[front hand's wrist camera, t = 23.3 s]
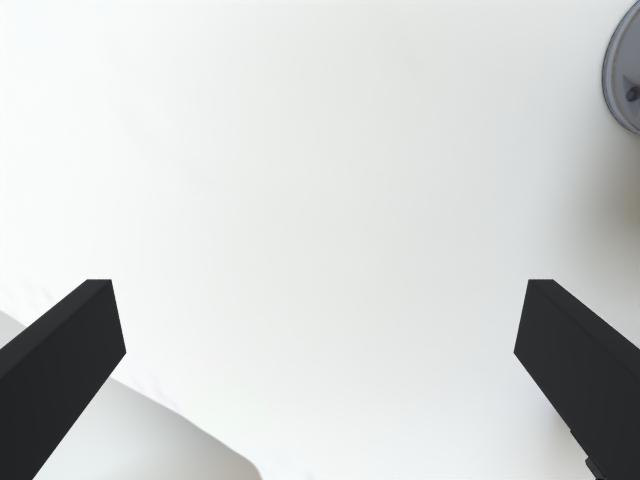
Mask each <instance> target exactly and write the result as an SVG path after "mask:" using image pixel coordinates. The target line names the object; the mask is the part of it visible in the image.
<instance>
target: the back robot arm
mask: <svg viewBox="0 0 640 480" xmlns="http://www.w3.org/2000/svg"><path fill="white" fill-rule="evenodd" d="M570 432H571V434H572V435H573V436H574V438H575V439H576V440H577V442H578V443H579V444H580V446H581V447H582V449H583V450H584V451H585V453H586V454H587V455H588V458H587V459H586V460H585V462H586V465H587V467H588V468H589V469H590V471H591V472H592V474H593V475H594V476H595V478H596V479H595V480H607V478H606V477H605V475H604V474H603V473H602V471H601V470H600V469H599V467H598V466H597V465H596V463H595V462H594V461H593V459H592V458H591V457H590V455H589V454H588V453H587V451H586V450H585V448H584V447H583V446H582V444H581V443H580V442H579V440H578V439H577V438H576V436H575V435H574V434H573V432H572V431H570Z"/></svg>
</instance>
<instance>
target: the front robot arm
mask: <svg viewBox="0 0 640 480" xmlns="http://www.w3.org/2000/svg"><path fill="white" fill-rule="evenodd" d="M603 90H604V95H605V99H606V102H607V104H608V107H609V109H610V111H611V112H612V114H613V115H614V117H615V118H616V119H617V120H618V121H619V122H620V123H621V124H622V125H623V126H624V127H626V128H627V129H629V130H631V131H633V132H635V133H637V134H640V0H639V1H638V2H637V3H636V4H635V5H634V6H633V7H632V8H631V9H630V10H629V12H628V13H627V14H626V15H625V17H624V18H623V20H622V21H621V23H620V24H619V26H618V28H617V29H616V31H615V33H614V35H613V37H612V39H611V42H610V44H609V47H608V50H607V53H606V57H605V61H604V67H603ZM125 354H126V348H125V343H124V339H123V334H122V329H121V324H120V319H119V314H118V309H117V305H116V300H115V295H114V290H113V285H112V280H111V279H87V280H86V281H84V282H83V283H82V284H81V285H79V286H78V287H77V288H76V289H75V290H73V291H72V292H71V293H70V294H68V295H67V296H66V297H65V298H63V299H62V300H61V301H60V302H58V303H57V304H56V305H55V306H53V307H52V308H51V309H50V310H49V311H47V312H46V313H45V314H44V315H42V316H41V317H40V318H39V319H37V320H36V321H35V322H34V323H32V324H31V325H30V326H29V327H27V328H26V329H25V330H24V331H22V332H21V333H20V334H19V335H18V336H16V337H15V338H14V339H13V340H11V341H10V342H9V343H8V344H6V345H5V346H4V347H3V348H1V349H0V480H32V479H33V478H34V477H35V475H36V474H37V473H38V471H39V470H40V469H41V467H42V466H43V465H44V463H45V462H46V461H47V459H48V458H49V457H50V455H51V454H52V452H53V451H54V450H55V448H56V447H57V446H58V444H59V443H60V442H61V440H62V439H63V438H64V436H65V435H66V434H67V432H68V431H69V430H70V428H71V427H72V426H73V424H74V423H75V421H76V420H77V419H78V417H79V416H80V415H81V413H82V412H83V411H84V409H85V408H86V407H87V405H88V404H89V403H90V401H91V400H92V399H93V397H94V396H95V394H96V393H97V392H98V390H99V389H100V388H101V386H102V385H103V384H104V382H105V381H106V380H107V378H108V377H109V376H110V374H111V373H112V372H113V370H114V369H115V367H116V366H117V365H118V363H119V362H120V361H121V359H122V358H123V357H124V355H125ZM514 354H515V355H516V357H517V358H518V359H519V361H520V362H521V363H522V365H523V366H524V367H525V369H526V370H527V372H528V373H529V374H530V376H531V377H532V378H533V380H534V381H535V382H536V384H537V385H538V386H539V388H540V389H541V390H542V392H543V393H544V394H545V396H546V397H547V399H548V400H549V401H550V403H551V404H552V405H553V407H554V408H555V409H556V411H557V412H558V413H559V415H560V416H561V417H562V419H563V420H564V421H565V423H566V424H567V426H568V427H569V428H570V430H571V431H572V432H573V434H574V435H575V436H576V438H577V439H578V440H579V442H580V443H581V444H582V446H583V447H584V448H585V450H586V451H587V453H588V454H589V455H590V457H591V458H592V459H593V461H594V462H595V463H596V465H597V466H598V467H599V469H600V470H601V471H602V473H603V474H604V475H605V477H606V478H607V480H640V349H639V348H637V347H636V346H635V345H634V344H632V343H631V342H630V341H629V340H627V339H626V338H625V337H624V336H622V335H621V334H620V333H619V332H618V331H616V330H615V329H614V328H613V327H611V326H610V325H609V324H608V323H606V322H605V321H604V320H603V319H601V318H600V317H599V316H598V315H596V314H595V313H594V312H593V311H591V310H590V309H589V308H588V307H587V306H585V305H584V304H583V303H582V302H580V301H579V300H578V299H577V298H575V297H574V296H573V295H572V294H570V293H569V292H568V291H567V290H565V289H564V288H563V287H562V286H560V285H559V284H558V283H557V282H556V281H554V280H553V279H529V280H528V285H527V290H526V295H525V300H524V305H523V309H522V314H521V319H520V324H519V329H518V334H517V339H516V343H515V348H514Z"/></svg>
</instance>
